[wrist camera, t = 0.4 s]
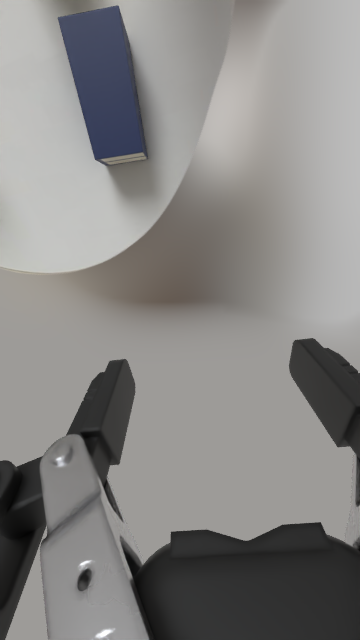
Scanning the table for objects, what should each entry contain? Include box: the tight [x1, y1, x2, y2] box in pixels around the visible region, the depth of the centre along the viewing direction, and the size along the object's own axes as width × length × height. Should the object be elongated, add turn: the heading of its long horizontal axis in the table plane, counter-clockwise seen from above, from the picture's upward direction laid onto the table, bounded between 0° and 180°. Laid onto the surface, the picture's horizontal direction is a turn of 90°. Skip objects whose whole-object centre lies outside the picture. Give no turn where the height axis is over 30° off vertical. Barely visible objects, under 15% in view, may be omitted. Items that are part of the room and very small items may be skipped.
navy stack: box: [58, 6, 148, 166], centre depth 24 cm, size 6×11×4 cm, turn 7°
